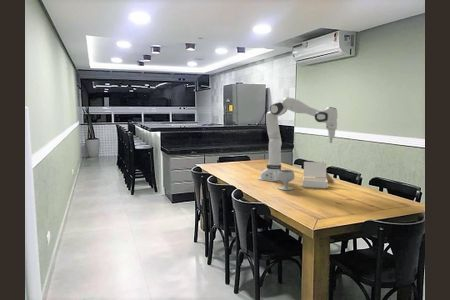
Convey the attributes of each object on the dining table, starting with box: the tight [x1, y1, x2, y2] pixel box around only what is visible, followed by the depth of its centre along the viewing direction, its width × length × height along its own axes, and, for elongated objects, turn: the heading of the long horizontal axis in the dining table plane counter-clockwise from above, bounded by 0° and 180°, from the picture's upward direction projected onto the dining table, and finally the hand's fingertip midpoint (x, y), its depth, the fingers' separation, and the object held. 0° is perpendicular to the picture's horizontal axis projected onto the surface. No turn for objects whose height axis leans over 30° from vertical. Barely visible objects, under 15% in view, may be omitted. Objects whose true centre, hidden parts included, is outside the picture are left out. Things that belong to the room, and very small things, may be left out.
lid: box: [303, 161, 327, 178], centre depth 288 cm, size 19×13×1 cm
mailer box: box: [302, 176, 329, 190], centre depth 280 cm, size 20×14×6 cm
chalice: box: [277, 169, 295, 191], centre depth 269 cm, size 14×14×15 cm
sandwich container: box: [314, 171, 334, 182], centre depth 302 cm, size 9×15×15 cm, turn 113°
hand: (330, 143), depth 276 cm, fingers closed
